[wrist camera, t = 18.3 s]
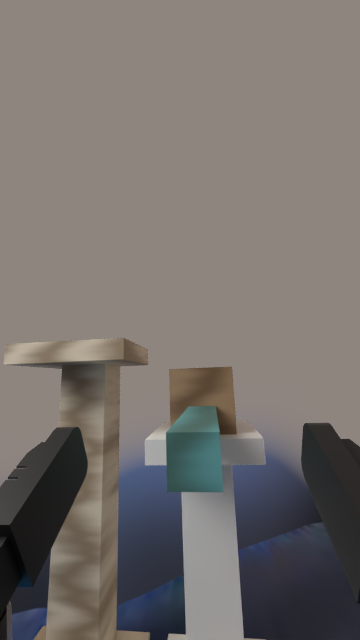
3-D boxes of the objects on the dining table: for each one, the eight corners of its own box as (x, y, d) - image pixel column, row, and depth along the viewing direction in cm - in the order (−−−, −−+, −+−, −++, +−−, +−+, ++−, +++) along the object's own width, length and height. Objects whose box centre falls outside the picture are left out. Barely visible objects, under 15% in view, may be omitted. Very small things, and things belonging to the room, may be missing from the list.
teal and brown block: (129, 491, 12) (130, 359, 14) (179, 423, 32) (177, 371, 33) (264, 492, 12) (251, 353, 13) (231, 422, 31) (227, 369, 32)
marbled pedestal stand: (-42, 780, 20) (5, 344, 27) (41, 648, 29) (60, 353, 37) (118, 799, 19) (123, 337, 26) (150, 655, 28) (147, 349, 35)
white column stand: (146, 803, 18) (144, 439, 23) (169, 657, 28) (164, 422, 33) (300, 823, 17) (263, 438, 22) (268, 664, 27) (247, 420, 32)
